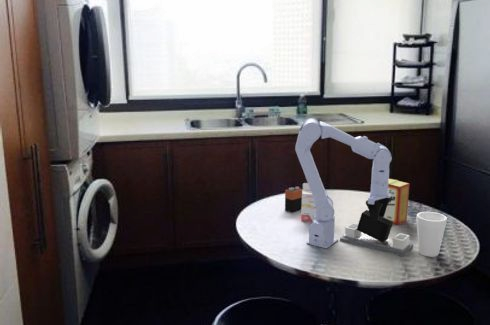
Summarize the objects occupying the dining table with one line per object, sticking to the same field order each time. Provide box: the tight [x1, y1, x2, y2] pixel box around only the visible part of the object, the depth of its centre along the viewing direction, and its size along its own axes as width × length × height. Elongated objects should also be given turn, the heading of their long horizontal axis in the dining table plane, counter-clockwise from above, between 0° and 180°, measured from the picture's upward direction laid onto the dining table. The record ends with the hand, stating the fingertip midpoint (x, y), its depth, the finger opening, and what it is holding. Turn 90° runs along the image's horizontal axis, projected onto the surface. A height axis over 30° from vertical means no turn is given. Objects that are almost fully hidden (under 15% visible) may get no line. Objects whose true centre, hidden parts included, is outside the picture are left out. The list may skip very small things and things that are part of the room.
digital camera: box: [357, 209, 394, 242], centre depth 175 cm, size 10×5×7 cm, turn 54°
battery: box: [284, 186, 303, 214], centre depth 210 cm, size 4×7×10 cm, turn 129°
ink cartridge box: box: [300, 182, 316, 223], centre depth 198 cm, size 9×5×15 cm, turn 84°
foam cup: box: [415, 211, 448, 258], centre depth 167 cm, size 10×9×13 cm
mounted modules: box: [344, 222, 410, 249], centre depth 176 cm, size 6×21×3 cm, turn 54°
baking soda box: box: [384, 178, 410, 226], centre depth 197 cm, size 10×6×16 cm
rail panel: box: [339, 232, 414, 257], centre depth 176 cm, size 10×23×2 cm, turn 54°
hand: (377, 218), depth 174 cm, fingers closed on digital camera, 5 cm apart
